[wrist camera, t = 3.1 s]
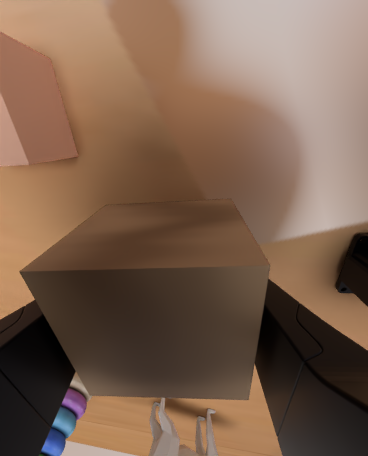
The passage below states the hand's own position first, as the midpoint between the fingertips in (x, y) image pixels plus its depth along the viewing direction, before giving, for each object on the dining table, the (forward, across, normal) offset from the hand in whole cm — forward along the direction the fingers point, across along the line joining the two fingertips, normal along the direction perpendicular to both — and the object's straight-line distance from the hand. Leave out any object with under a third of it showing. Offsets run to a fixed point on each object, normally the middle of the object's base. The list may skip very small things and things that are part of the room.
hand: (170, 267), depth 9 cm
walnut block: (+1, 0, 0) cm, 1 cm away
